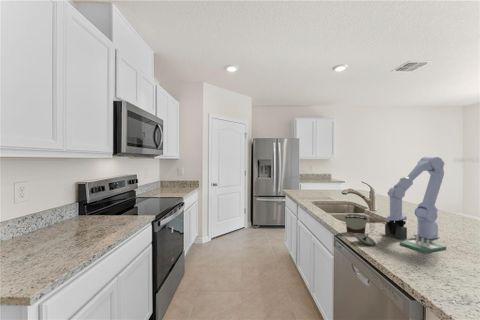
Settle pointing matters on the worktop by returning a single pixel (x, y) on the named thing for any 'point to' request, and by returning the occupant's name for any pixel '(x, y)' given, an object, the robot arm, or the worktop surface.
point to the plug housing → (397, 231)
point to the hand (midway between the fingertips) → (395, 233)
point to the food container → (355, 223)
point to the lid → (365, 239)
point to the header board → (422, 245)
